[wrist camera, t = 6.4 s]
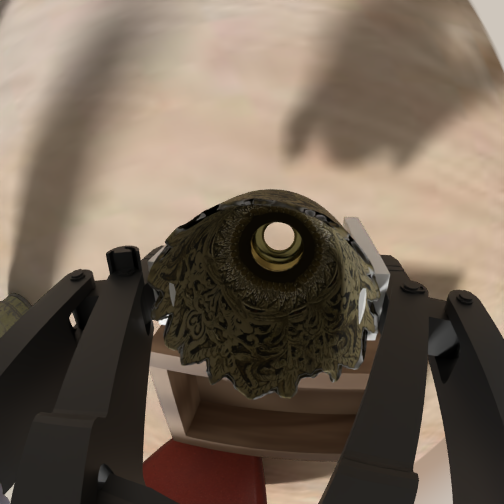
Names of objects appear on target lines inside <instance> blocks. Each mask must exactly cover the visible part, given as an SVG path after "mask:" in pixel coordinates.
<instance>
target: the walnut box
mask: <svg viewBox="0 0 504 504" xmlns="http://www.w3.org/2000/svg"><path fill="white" fill-rule="evenodd" d="M164 329H165V325H161V326H160V328H159V329H158V330H157V332H156V333H155V335H154V336H153V339H152V347H151V356H150V365H149V371H150V374H151V377H152V380H153V384H154V387H155V390H156V393H157V396H158V399H159V402H160V405H161V408H162V410H163V413H164V416H165V419H166V422H167V424H168V427H169V430H170V432H171V435H172V437H173V440H174V441H177V442H181V443H185V444H190V445H194V446H199V447H203V448H208V449H213V450H219V451H224V452H230V453H237V454H243V455H250V456H258V457H267V458H277V459H289V460H305V461H339V458H340V456H341V453H342V451H343V449H344V446H345V444H346V441H347V439H348V436H349V434H350V431H351V428H352V426H353V423H354V420H355V418H356V415H357V412H358V409H359V406H360V403H361V400H362V397H363V394H364V391H365V388H366V385H367V382H368V379H369V375H370V372H371V369H372V365H373V362H374V357H375V354H376V351H377V347H378V344H379V340H380V336H381V334H380V331H379V333H378V334H377V335H376V339H375V340H367V347H366V354H365V358H364V361H363V363H362V364H361V366H360V367H359V369H356V370H353V369H348V368H344V367H343V366H342V373H341V376H340V378H339V379H338V381H337V382H333V383H332V382H331V380H330V377H329V375H328V374H326V373H325V372H322V373H321V372H320V373H319V374H318V375H317V376H316V377H315V378H310V377H306V378H303V379H301V380H300V382H299V384H298V388H297V389H298V391H297V393H296V394H295V395H294V396H293V397H292V398H290V399H289V398H282V397H280V396H279V395H278V394H277V393H275V392H274V393H271V394H267V395H265V396H263V397H261V398H258V399H255V400H251V399H248V398H246V397H245V396H244V395H243V394H242V393H241V392H239V391H238V390H236V389H235V388H234V386H233V384H232V382H231V381H230V380H228V379H227V378H222V379H221V380H220V381H219V382H217V383H216V384H214V385H211V384H210V382H209V378H208V375H207V373H206V369H207V367H206V361H203V362H202V363H201V364H193V365H188V366H182V365H181V362H180V353H178V351H177V350H175V351H174V350H172V349H168V347H167V346H166V345H165V342H164V337H163V333H164Z"/></svg>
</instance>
